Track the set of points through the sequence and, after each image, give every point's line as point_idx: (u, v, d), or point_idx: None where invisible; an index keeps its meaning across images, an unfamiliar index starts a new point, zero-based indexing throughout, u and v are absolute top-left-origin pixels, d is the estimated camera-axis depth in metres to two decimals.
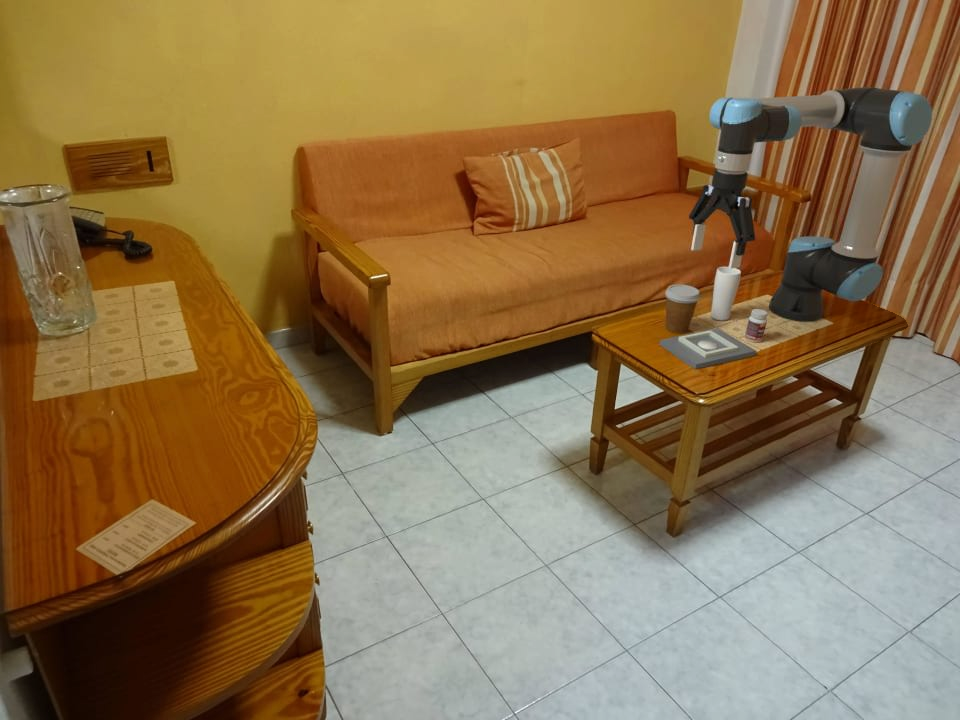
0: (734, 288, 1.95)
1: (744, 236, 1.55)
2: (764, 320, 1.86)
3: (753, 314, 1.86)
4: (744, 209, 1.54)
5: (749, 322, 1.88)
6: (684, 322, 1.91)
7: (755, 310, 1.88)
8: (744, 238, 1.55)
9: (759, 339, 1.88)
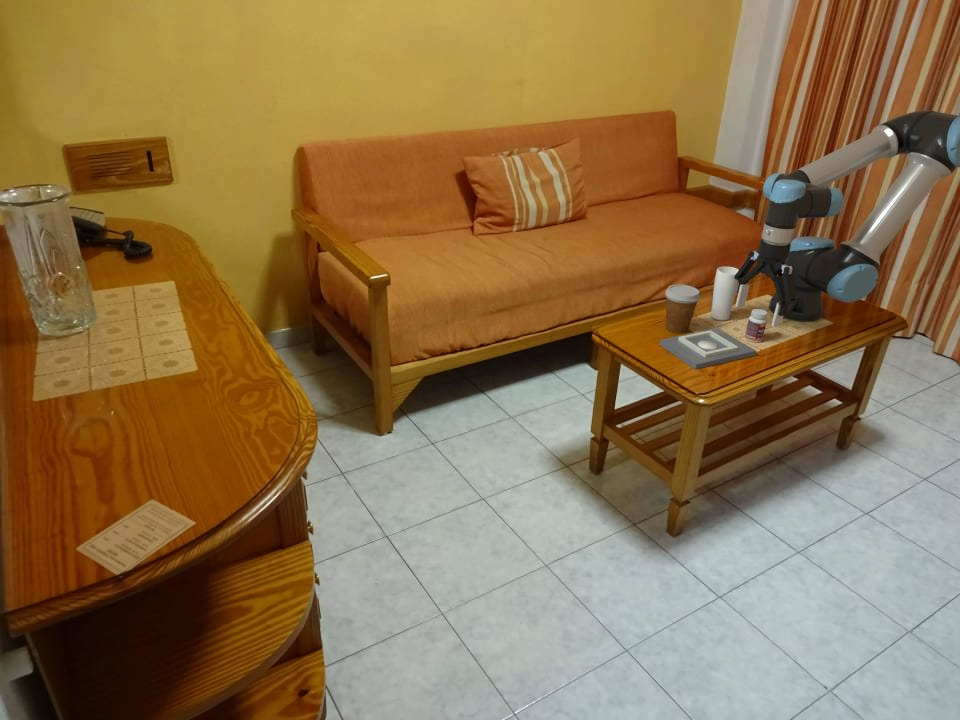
0: (734, 288, 1.95)
1: (787, 300, 1.75)
2: (764, 320, 1.86)
3: (753, 314, 1.86)
4: (787, 276, 1.75)
5: (749, 322, 1.88)
6: (684, 322, 1.91)
7: (755, 310, 1.88)
8: (787, 301, 1.75)
9: (759, 339, 1.88)
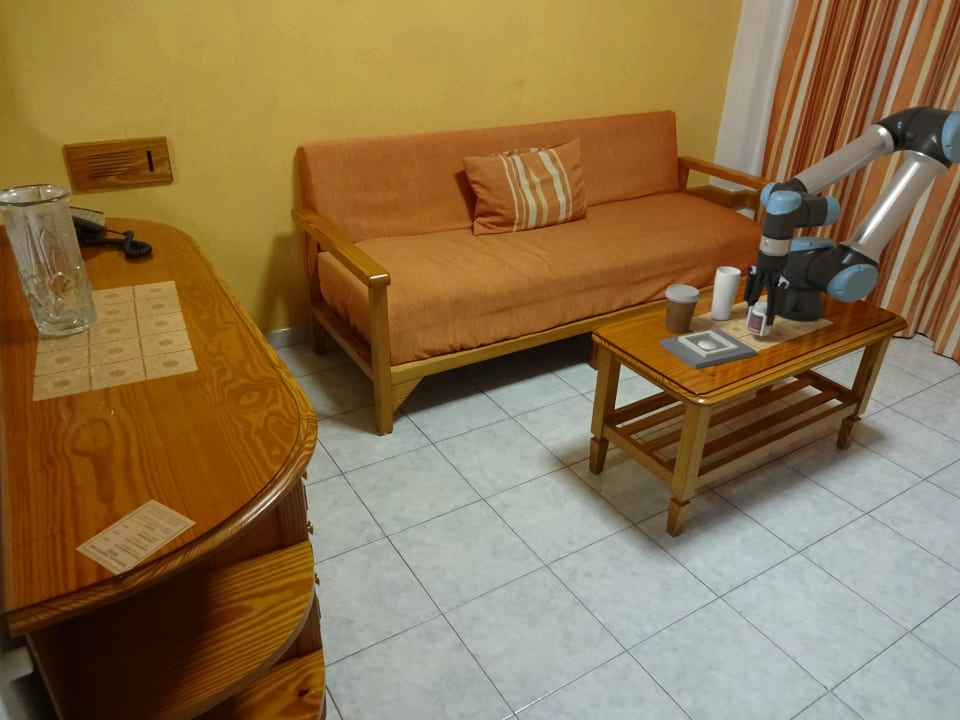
0: (734, 288, 1.95)
1: (774, 311, 1.81)
2: None
3: (756, 307, 1.85)
4: (782, 291, 1.78)
5: (752, 315, 1.87)
6: (684, 322, 1.91)
7: (758, 303, 1.87)
8: (773, 312, 1.81)
9: None
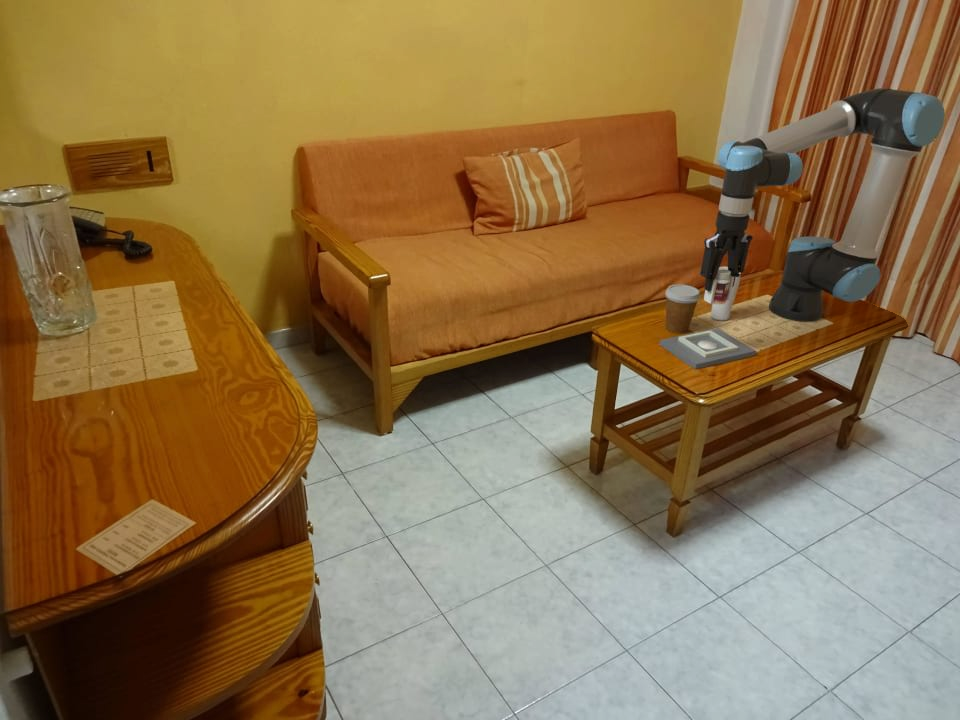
0: (734, 288, 1.95)
1: None
2: None
3: None
4: (706, 248, 1.69)
5: None
6: (684, 322, 1.91)
7: (725, 269, 1.74)
8: None
9: None
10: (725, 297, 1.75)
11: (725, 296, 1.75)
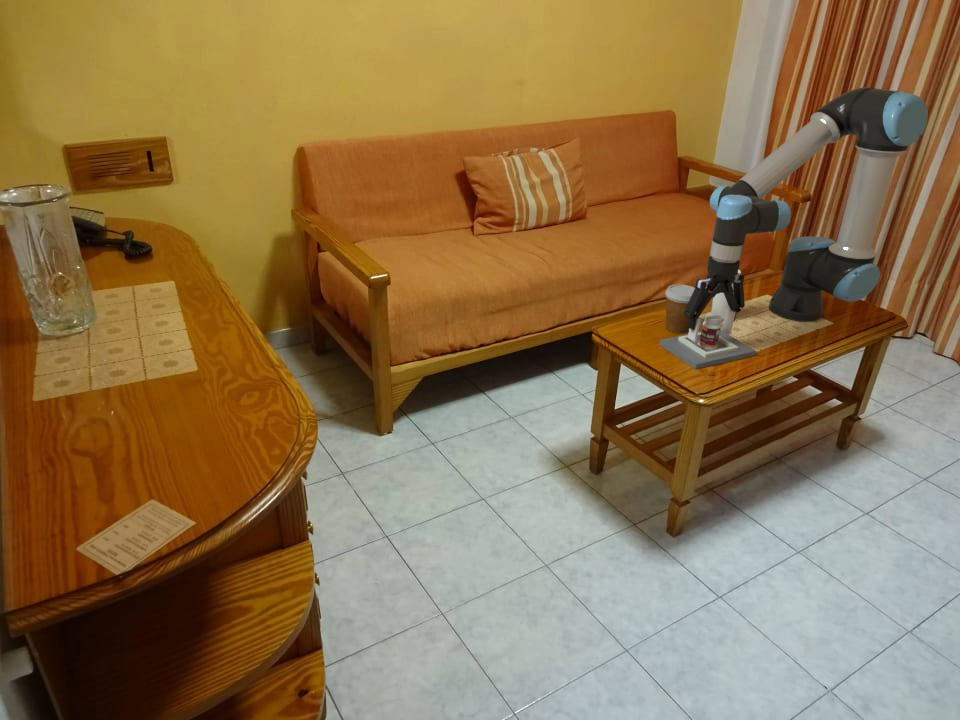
0: None
1: None
2: (707, 324, 1.79)
3: None
4: (696, 288, 1.73)
5: None
6: (684, 322, 1.91)
7: (716, 315, 1.80)
8: None
9: (701, 342, 1.82)
10: (716, 341, 1.81)
11: (716, 341, 1.81)
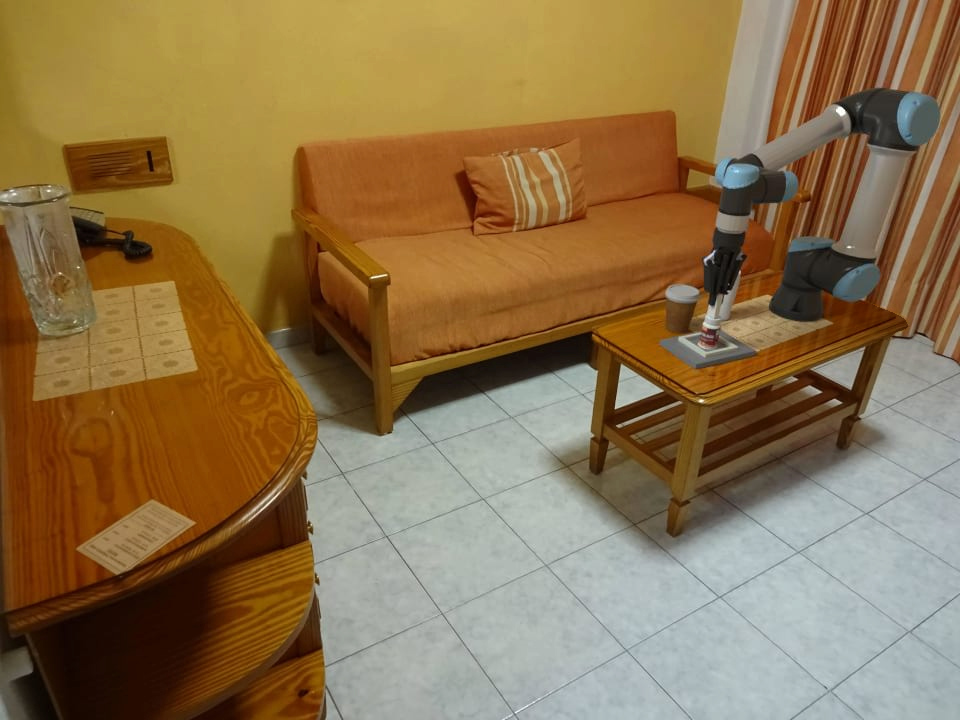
0: (734, 288, 1.95)
1: None
2: (707, 324, 1.79)
3: None
4: (704, 266, 1.71)
5: None
6: (684, 322, 1.91)
7: None
8: None
9: (700, 342, 1.82)
10: (716, 342, 1.81)
11: (716, 341, 1.81)
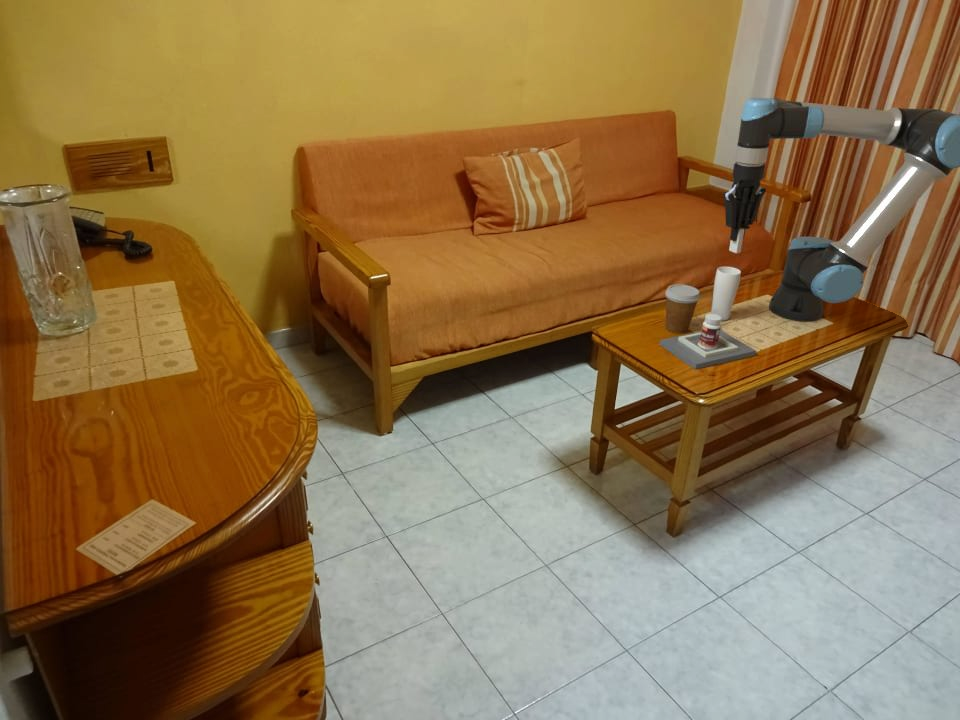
0: (734, 288, 1.95)
1: None
2: (707, 324, 1.79)
3: None
4: (726, 201, 1.76)
5: None
6: (684, 322, 1.91)
7: (716, 315, 1.80)
8: None
9: (701, 342, 1.82)
10: (716, 342, 1.81)
11: (716, 341, 1.81)
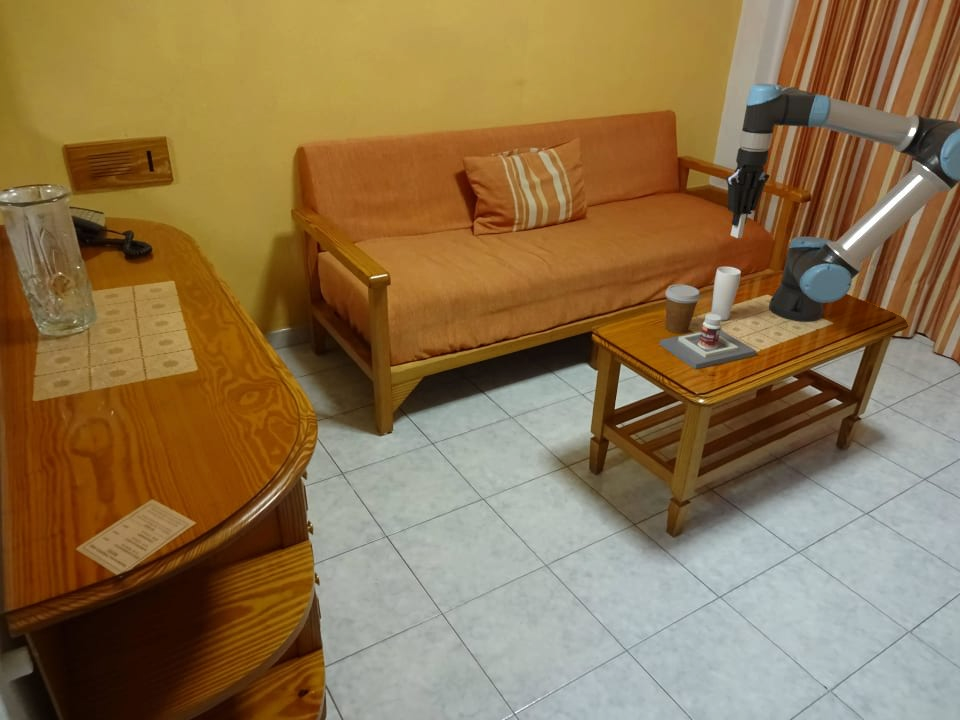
0: (734, 288, 1.95)
1: None
2: (707, 324, 1.79)
3: None
4: (729, 186, 1.79)
5: None
6: (684, 322, 1.91)
7: (716, 315, 1.80)
8: None
9: (701, 342, 1.82)
10: (716, 342, 1.81)
11: (716, 341, 1.81)
